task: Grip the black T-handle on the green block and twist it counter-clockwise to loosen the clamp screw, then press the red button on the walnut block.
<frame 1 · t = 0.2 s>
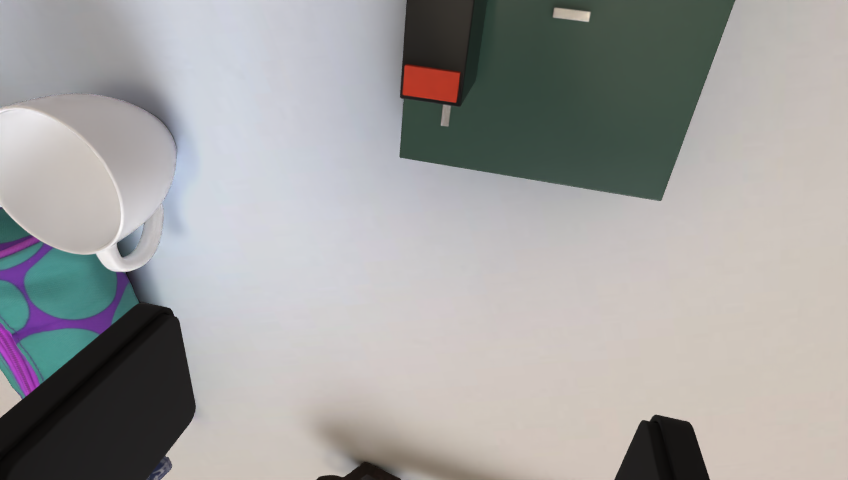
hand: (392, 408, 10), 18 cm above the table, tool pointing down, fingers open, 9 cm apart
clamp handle: (449, 5, 18), point 5 cm above the table, hinge at 0.0°
pencil case: (125, 310, 38), on the table
green block: (559, 7, 22), on the table
cup: (154, 159, 31), on the table
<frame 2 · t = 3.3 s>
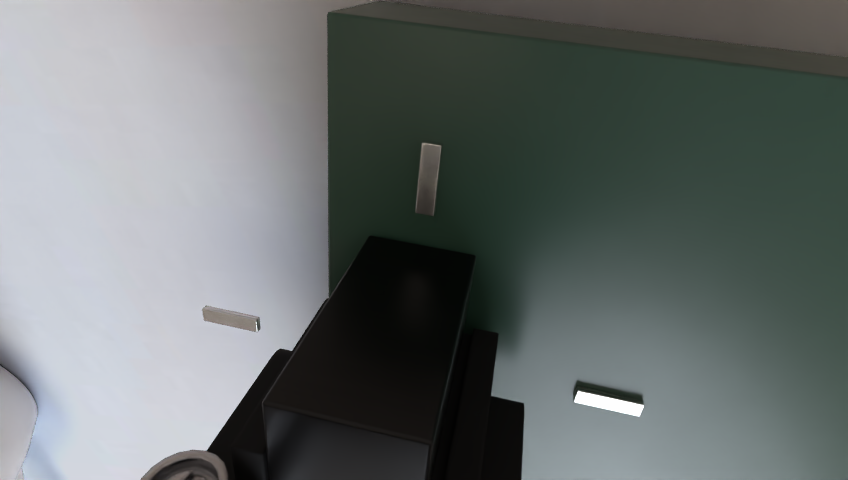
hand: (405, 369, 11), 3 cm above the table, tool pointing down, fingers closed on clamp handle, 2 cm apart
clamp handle: (381, 442, 9), point 5 cm above the table, hinge at 0.0°, touching gripper
green block: (580, 312, 13), on the table
cup: (11, 407, 22), on the table
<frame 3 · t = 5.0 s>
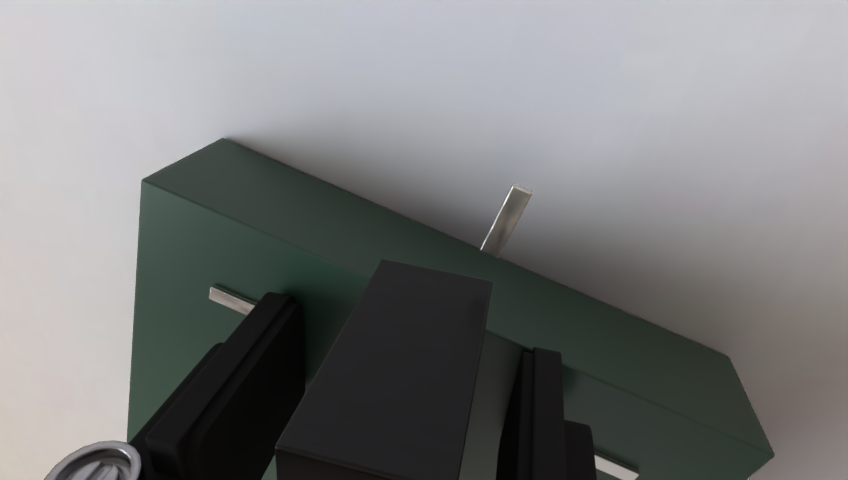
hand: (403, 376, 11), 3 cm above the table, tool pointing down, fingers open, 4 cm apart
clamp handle: (393, 475, 9), point 5 cm above the table, hinge at 104.5°
green block: (400, 395, 16), on the table
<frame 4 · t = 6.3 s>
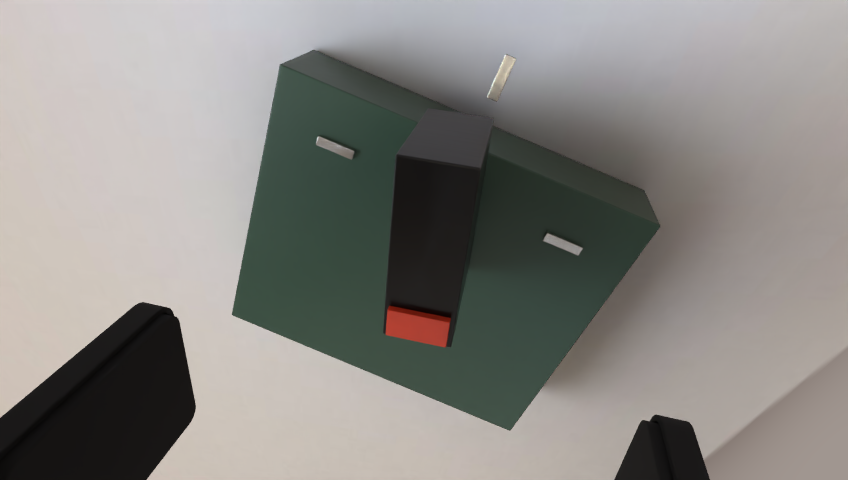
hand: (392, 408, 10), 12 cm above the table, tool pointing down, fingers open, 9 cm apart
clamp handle: (438, 225, 16), point 5 cm above the table, hinge at 104.5°
green block: (427, 240, 23), on the table
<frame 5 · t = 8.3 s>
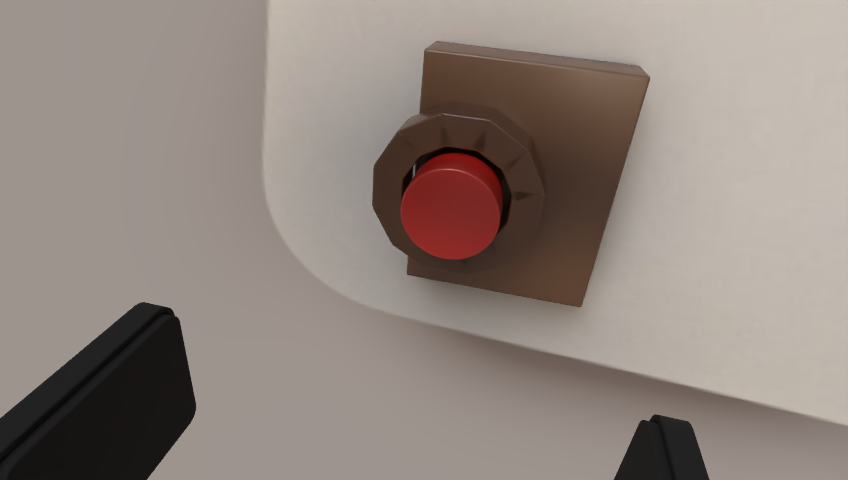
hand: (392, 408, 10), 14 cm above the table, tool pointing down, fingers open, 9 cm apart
button block: (513, 171, 22), on the table
start button: (452, 206, 19), point 4 cm above the table, slide at 0.1 cm
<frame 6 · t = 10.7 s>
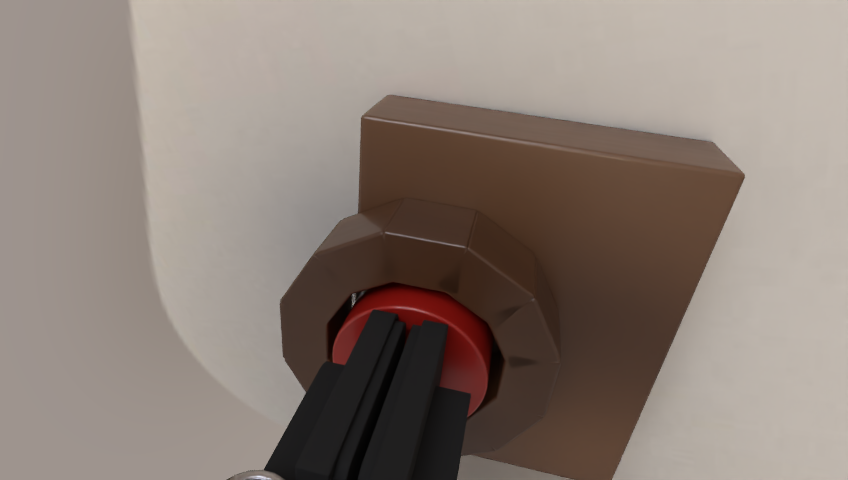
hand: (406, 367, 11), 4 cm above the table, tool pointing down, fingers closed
button block: (508, 283, 15), on the table
start button: (416, 347, 12), point 4 cm above the table, slide at -0.8 cm, touching gripper
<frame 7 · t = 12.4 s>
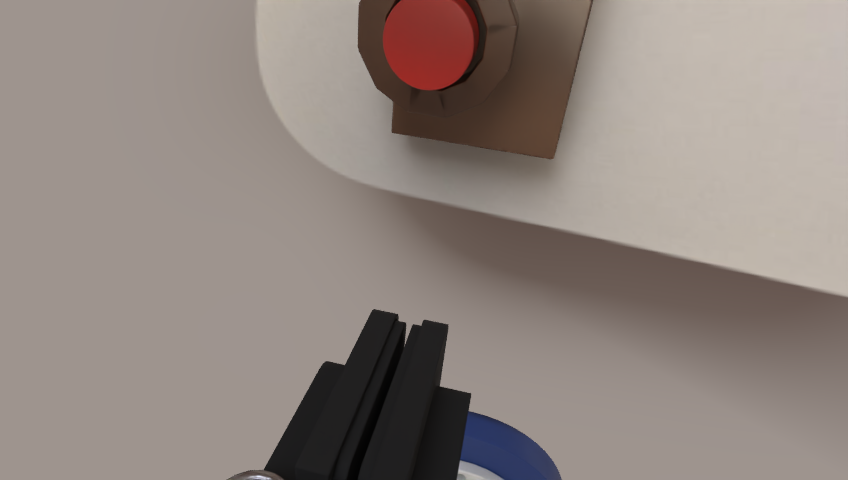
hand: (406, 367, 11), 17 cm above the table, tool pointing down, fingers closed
button block: (491, 29, 23), on the table
start button: (431, 39, 20), point 4 cm above the table, slide at 0.1 cm
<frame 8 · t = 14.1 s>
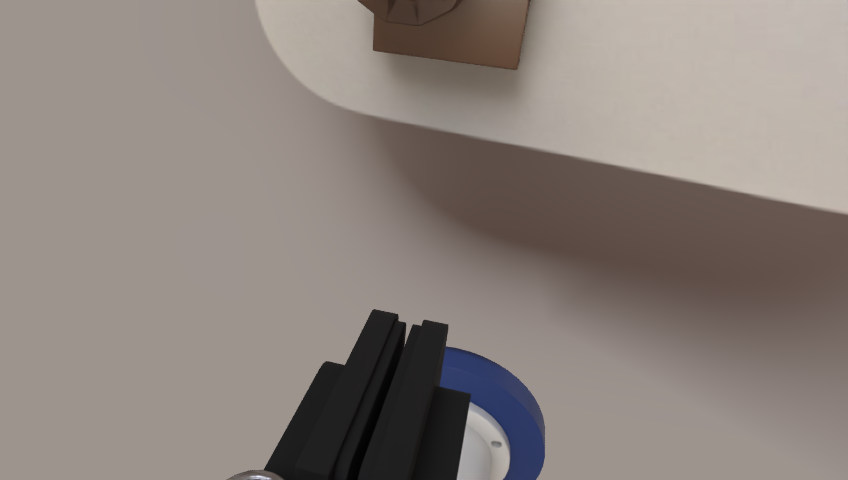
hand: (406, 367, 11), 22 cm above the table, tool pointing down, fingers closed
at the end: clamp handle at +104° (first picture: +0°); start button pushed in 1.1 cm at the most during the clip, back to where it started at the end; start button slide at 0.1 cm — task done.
